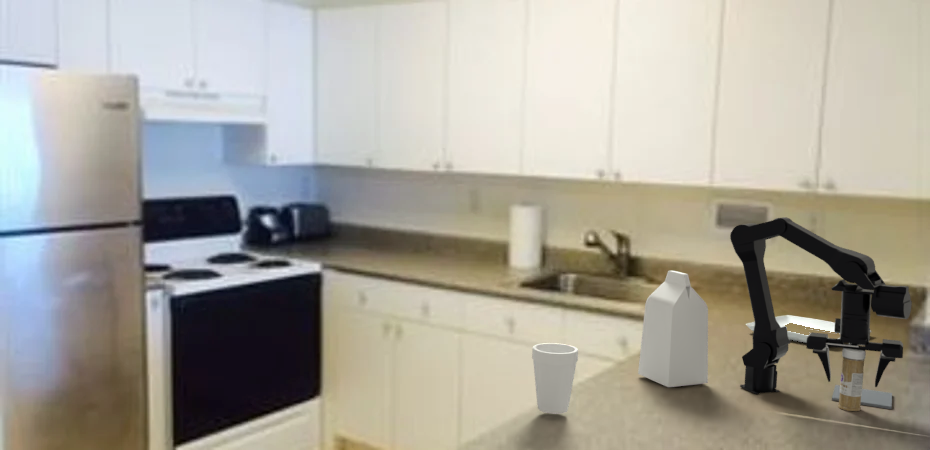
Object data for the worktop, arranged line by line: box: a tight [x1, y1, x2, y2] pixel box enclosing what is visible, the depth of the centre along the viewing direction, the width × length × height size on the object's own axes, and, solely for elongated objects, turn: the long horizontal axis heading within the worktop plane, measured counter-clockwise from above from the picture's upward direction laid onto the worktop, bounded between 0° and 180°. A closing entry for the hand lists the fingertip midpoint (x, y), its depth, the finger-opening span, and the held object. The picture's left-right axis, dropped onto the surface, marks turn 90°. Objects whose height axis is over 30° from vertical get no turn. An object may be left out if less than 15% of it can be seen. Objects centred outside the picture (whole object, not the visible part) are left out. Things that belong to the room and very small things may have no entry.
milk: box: [637, 270, 709, 388], centre depth 199 cm, size 12×12×26 cm
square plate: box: [745, 314, 872, 344], centre depth 252 cm, size 27×27×4 cm
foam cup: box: [531, 342, 579, 415], centre depth 173 cm, size 10×9×13 cm
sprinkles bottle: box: [838, 348, 867, 412], centre depth 179 cm, size 5×5×14 cm
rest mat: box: [831, 384, 893, 410], centre depth 188 cm, size 12×12×1 cm
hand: (852, 384), depth 179 cm, fingers open, 9 cm apart
